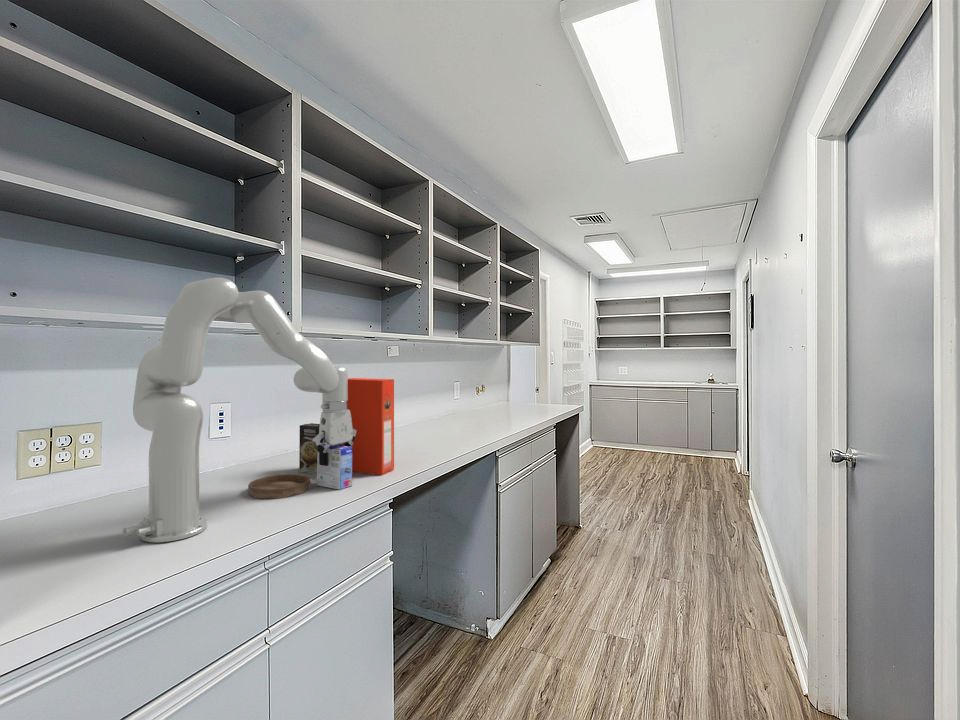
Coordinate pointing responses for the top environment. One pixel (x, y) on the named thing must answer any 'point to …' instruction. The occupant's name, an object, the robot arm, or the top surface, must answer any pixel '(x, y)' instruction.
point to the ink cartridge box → (336, 468)
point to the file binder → (372, 424)
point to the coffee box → (308, 448)
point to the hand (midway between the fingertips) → (335, 461)
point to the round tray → (279, 486)
